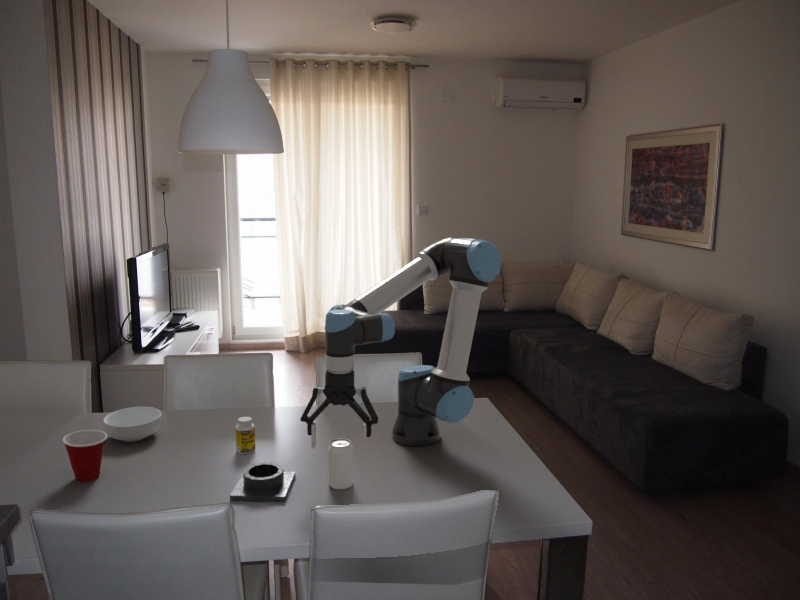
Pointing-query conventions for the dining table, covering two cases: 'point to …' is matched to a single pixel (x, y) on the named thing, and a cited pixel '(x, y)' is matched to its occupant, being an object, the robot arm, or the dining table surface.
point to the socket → (263, 484)
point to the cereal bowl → (132, 423)
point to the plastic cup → (85, 453)
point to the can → (340, 464)
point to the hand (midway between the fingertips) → (339, 447)
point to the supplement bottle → (245, 436)
